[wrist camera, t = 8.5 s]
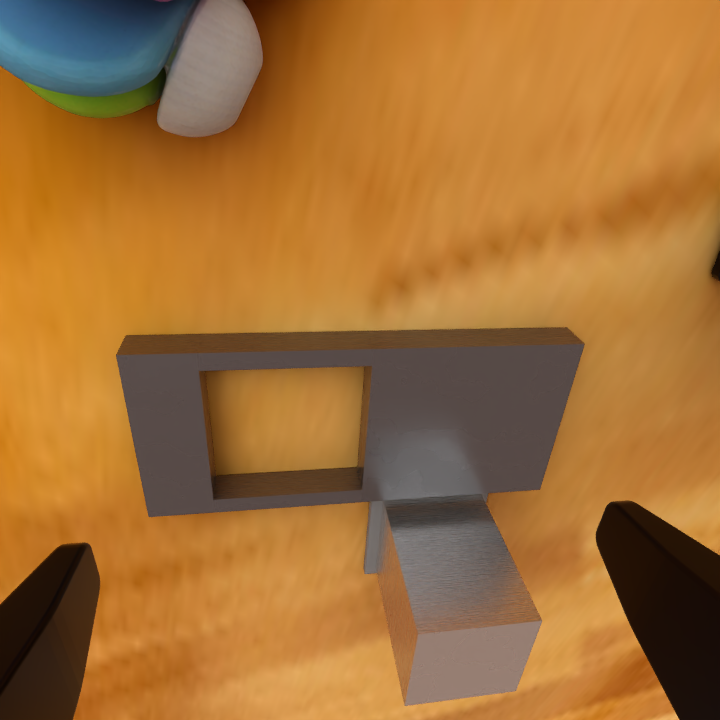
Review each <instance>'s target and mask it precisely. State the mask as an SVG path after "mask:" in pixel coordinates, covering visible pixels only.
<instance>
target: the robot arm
mask: <svg viewBox="0 0 720 720" xmlns="http://www.w3.org/2000/svg"><path fill="white" fill-rule="evenodd" d="M712 277H713V278H714V279H716V280H717V281H719V282H720V252H719V254H718V256H717V259H716V261H715V264H714V266H713V269H712ZM596 542H597V546H598V549H599V551H600V554H601V556H602V559H603V561H604V563H605V566H606V568H607V571H608V573H609V576H610V578H611V580H612V583H613V585H614V588H615V590H616V593H617V595H618V598H619V600H620V602H621V605H622V607H623V610H624V612H625V614H626V617H627V619H628V621H629V623H630V626H631V628H632V630H633V632H634V634H635V636H636V638H637V640H638V642H639V644H640V645H641V647H642V649H643V651H644V653H645V655H646V657H647V659H648V661H649V663H650V665H651V666H652V668H653V670H654V672H655V674H656V676H657V678H658V680H659V682H660V684H661V686H662V687H663V689H664V691H665V693H666V695H667V697H668V699H669V701H670V703H671V705H672V707H673V708H674V710H675V712H676V714H677V716H678V718H679V720H720V555H718V554H717V553H715V552H713V551H712V550H710V549H709V548H707V547H705V546H704V545H702V544H701V543H699V542H697V541H696V540H694V539H693V538H691V537H689V536H688V535H686V534H685V533H683V532H681V531H680V530H678V529H677V528H675V527H673V526H672V525H670V524H669V523H667V522H665V521H664V520H662V519H661V518H659V517H657V516H656V515H654V514H653V513H651V512H649V511H648V510H646V509H645V508H643V507H642V506H640V505H638V504H637V503H635V502H633V501H615V502H610V503H609V504H608V505H607V506H606V508H605V511H604V513H603V516H602V518H601V521H600V523H599V526H598V528H597V531H596ZM99 590H100V576H99V572H98V569H97V565H96V562H95V558H94V555H93V552H92V548H91V546H90V545H89V544H88V543H71V544H63V545H60V546H59V547H57V548H56V549H55V550H54V551H53V552H52V553H51V554H50V555H49V556H48V557H47V558H46V559H45V560H44V561H43V562H42V563H41V564H40V565H39V566H38V567H37V568H36V569H35V570H34V571H33V572H32V573H31V574H30V575H29V576H28V577H27V578H26V579H25V580H24V581H23V582H22V583H21V584H20V585H19V586H18V587H17V588H16V589H15V590H14V591H13V592H12V593H11V594H10V595H9V596H8V597H7V598H6V599H5V600H4V601H3V602H2V603H1V604H0V720H73V717H74V714H75V710H76V707H77V703H78V699H79V696H80V692H81V688H82V683H83V678H84V673H85V667H86V662H87V656H88V651H89V645H90V640H91V635H92V629H93V624H94V618H95V613H96V607H97V602H98V596H99Z"/></svg>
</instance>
